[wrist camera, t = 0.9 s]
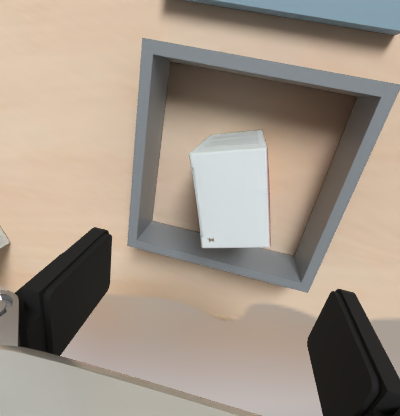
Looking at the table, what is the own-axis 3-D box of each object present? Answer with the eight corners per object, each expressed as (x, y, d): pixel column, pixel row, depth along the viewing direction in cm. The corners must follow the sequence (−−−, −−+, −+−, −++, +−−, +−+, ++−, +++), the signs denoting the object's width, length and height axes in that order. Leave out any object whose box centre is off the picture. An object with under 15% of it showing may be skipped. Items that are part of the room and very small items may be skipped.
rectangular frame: (373, 86, 24) (401, 85, 19) (300, 264, 32) (307, 292, 28) (161, 47, 26) (142, 37, 21) (144, 225, 34) (127, 245, 30)
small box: (265, 201, 30) (271, 250, 20) (216, 203, 31) (200, 251, 22) (263, 127, 27) (269, 146, 17) (209, 133, 28) (187, 153, 19)
